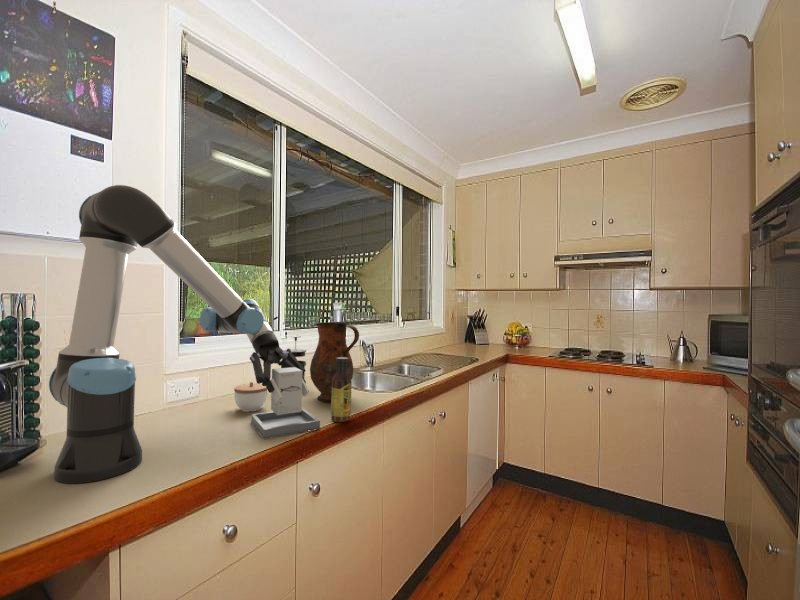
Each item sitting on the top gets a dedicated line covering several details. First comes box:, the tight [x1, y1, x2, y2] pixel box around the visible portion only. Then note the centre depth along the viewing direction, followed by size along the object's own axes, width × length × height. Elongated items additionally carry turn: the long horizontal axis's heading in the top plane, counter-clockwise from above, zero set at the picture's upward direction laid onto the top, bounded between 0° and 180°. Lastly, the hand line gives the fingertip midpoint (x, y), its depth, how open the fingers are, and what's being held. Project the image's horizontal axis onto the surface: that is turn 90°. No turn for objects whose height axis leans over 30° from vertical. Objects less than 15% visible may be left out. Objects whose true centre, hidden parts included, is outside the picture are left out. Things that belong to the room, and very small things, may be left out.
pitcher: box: [309, 321, 360, 404], centre depth 144 cm, size 17×21×30 cm
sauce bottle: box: [330, 357, 353, 423], centre depth 120 cm, size 7×6×20 cm
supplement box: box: [270, 367, 303, 415], centre depth 114 cm, size 7×7×13 cm
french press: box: [280, 335, 307, 385], centre depth 157 cm, size 12×9×23 cm
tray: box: [250, 407, 321, 440], centre depth 113 cm, size 16×16×2 cm
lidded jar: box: [233, 381, 268, 413], centre depth 130 cm, size 11×11×9 cm
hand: (293, 396), depth 112 cm, fingers closed on supplement box, 9 cm apart
